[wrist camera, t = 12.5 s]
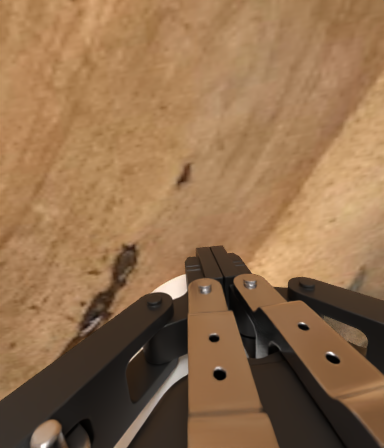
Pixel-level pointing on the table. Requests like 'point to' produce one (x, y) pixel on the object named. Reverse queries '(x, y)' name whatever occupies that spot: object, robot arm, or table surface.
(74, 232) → the table surface
